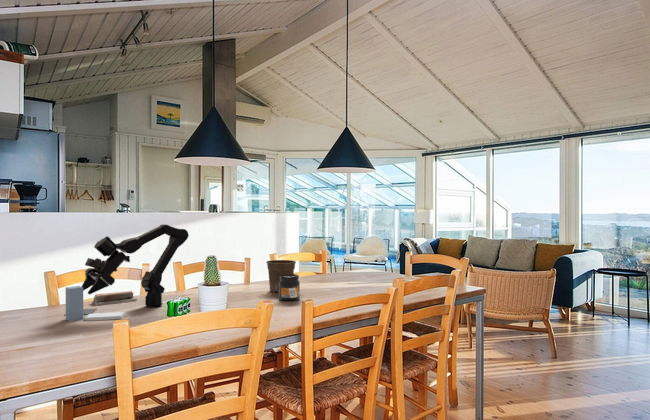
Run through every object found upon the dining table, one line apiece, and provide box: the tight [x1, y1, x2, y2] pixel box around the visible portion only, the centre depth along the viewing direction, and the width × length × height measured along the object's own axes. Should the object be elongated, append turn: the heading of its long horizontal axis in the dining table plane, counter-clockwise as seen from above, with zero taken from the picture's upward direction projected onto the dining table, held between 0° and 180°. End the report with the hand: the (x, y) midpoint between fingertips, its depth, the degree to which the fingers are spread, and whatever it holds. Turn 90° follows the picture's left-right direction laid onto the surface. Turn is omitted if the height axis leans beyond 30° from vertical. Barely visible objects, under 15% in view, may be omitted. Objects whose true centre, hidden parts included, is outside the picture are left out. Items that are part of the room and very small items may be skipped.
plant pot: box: [266, 259, 297, 293], centre depth 244 cm, size 16×16×16 cm
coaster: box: [63, 308, 98, 317], centre depth 192 cm, size 10×10×1 cm
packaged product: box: [92, 290, 138, 307], centre depth 215 cm, size 18×5×10 cm
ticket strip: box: [83, 311, 126, 322], centre depth 183 cm, size 14×7×1 cm, turn 103°
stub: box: [65, 285, 84, 322], centre depth 181 cm, size 5×5×13 cm
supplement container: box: [278, 273, 301, 302], centre depth 221 cm, size 10×10×12 cm
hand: (84, 292), depth 184 cm, fingers open, 9 cm apart
